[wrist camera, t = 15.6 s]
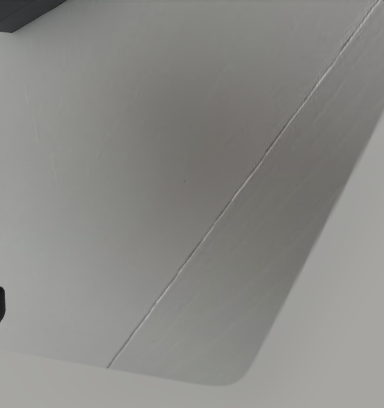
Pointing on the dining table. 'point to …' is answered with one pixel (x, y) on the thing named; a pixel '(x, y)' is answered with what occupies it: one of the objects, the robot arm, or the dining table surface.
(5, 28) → the scale
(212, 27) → the dining table surface
